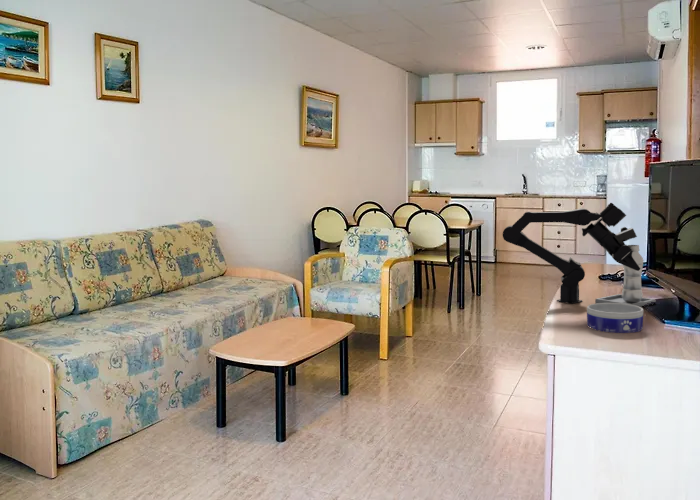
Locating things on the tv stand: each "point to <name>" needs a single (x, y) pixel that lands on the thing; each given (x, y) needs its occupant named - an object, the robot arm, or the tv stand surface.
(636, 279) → the plastic bottle
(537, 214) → the robot arm
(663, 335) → the tv stand surface
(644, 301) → the grey tray
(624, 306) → the dog bowl
